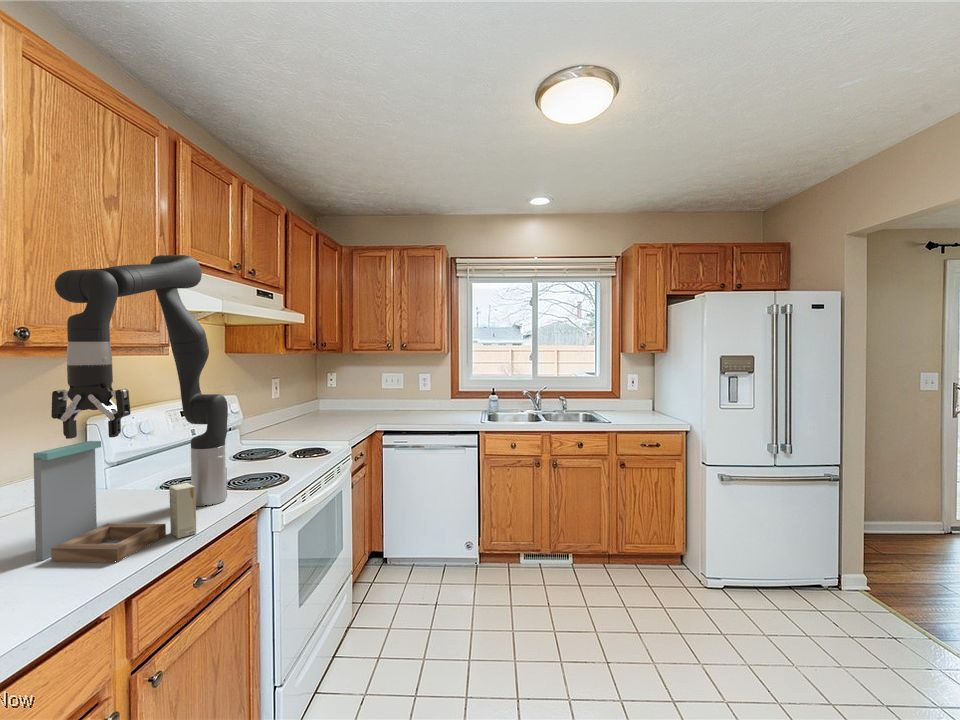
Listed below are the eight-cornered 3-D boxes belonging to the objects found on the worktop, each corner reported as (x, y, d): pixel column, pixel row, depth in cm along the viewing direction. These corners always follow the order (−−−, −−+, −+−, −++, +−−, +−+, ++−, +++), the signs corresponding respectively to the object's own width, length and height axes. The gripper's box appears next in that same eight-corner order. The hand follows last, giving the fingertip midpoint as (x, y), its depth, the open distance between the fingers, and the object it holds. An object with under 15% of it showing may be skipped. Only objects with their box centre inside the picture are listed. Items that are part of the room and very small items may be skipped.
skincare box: (197, 534, 118) (196, 486, 118) (177, 539, 115) (176, 490, 115) (188, 527, 122) (188, 481, 122) (169, 532, 119) (168, 485, 119)
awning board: (90, 535, 117) (88, 441, 117) (102, 535, 117) (101, 441, 117) (35, 560, 103) (33, 453, 103) (49, 560, 103) (47, 453, 103)
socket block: (108, 535, 118) (107, 523, 118) (165, 535, 117) (165, 523, 117) (51, 561, 103) (51, 548, 103) (117, 562, 102) (117, 549, 102)
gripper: (136, 362, 105) (138, 433, 105) (67, 362, 103) (70, 435, 104) (113, 363, 97) (116, 440, 98) (39, 364, 96) (42, 442, 96)
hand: (92, 437), depth 101 cm, fingers open, 8 cm apart
